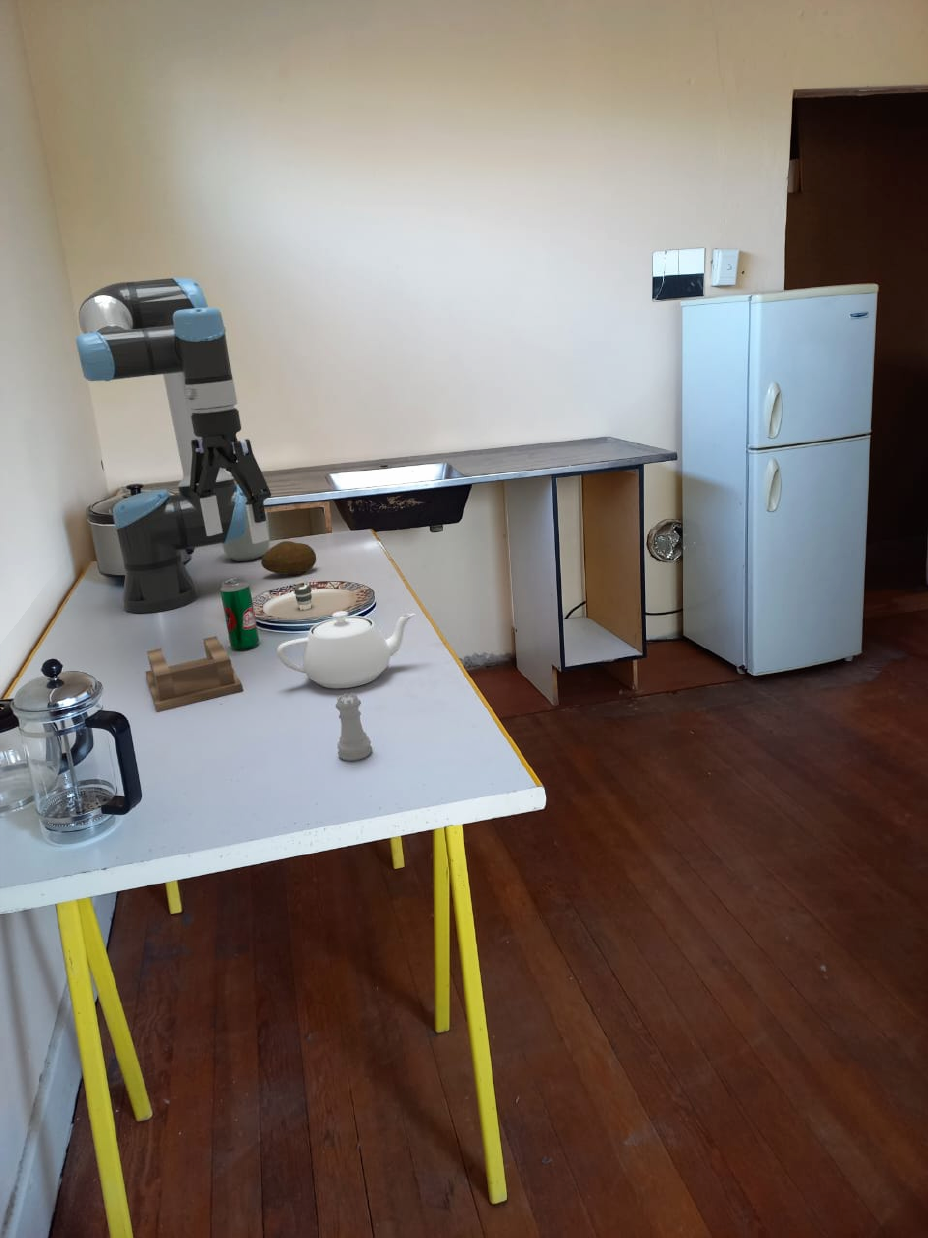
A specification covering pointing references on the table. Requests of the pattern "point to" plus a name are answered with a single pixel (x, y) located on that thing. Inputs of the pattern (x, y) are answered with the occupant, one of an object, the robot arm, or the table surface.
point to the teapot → (345, 650)
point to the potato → (289, 558)
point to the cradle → (191, 677)
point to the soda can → (239, 614)
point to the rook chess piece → (352, 730)
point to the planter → (247, 546)
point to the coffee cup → (303, 594)
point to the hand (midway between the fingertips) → (237, 538)
